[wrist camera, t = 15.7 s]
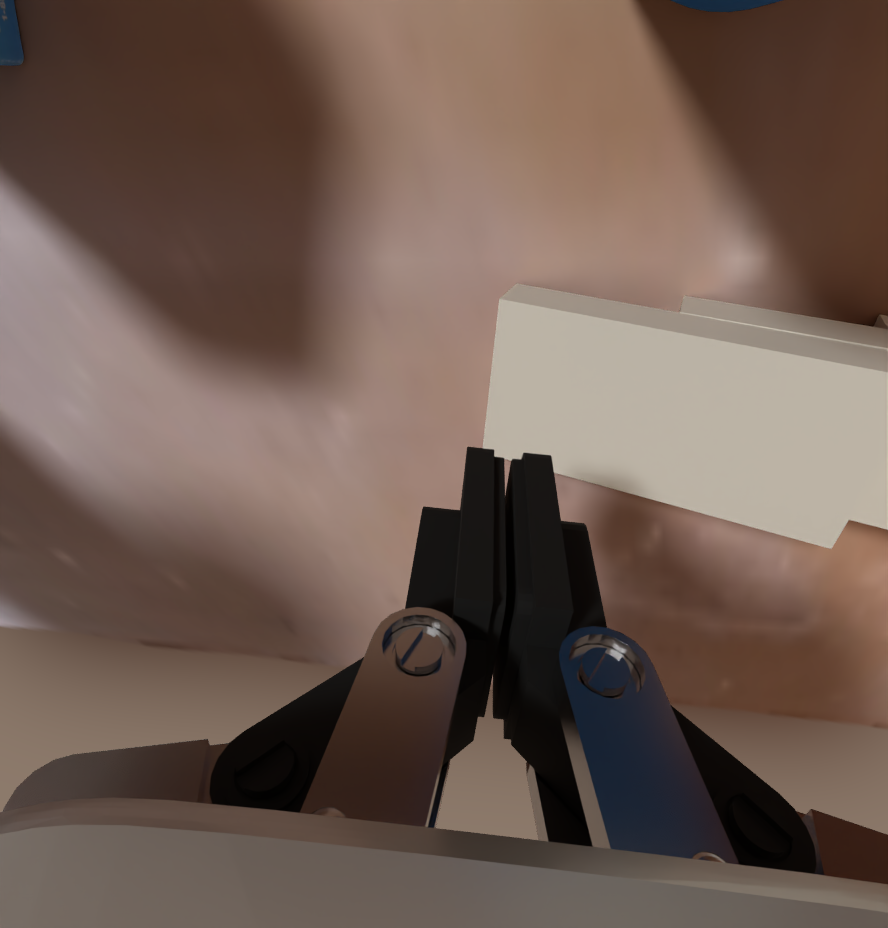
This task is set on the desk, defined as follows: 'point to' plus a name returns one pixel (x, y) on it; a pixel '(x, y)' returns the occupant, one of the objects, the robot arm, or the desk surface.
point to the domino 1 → (690, 409)
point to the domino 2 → (884, 496)
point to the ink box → (9, 35)
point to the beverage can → (724, 4)
